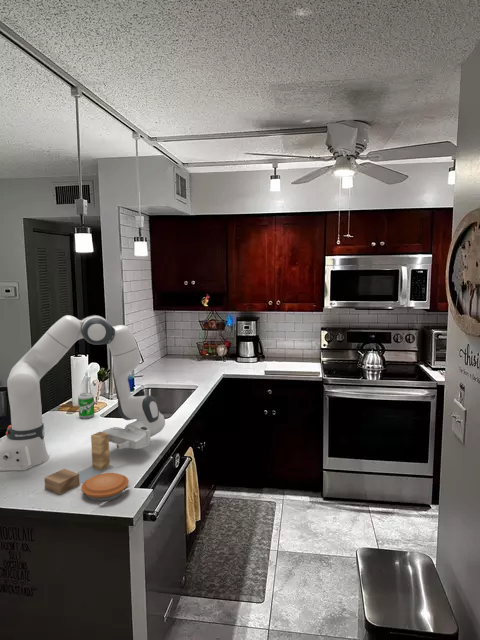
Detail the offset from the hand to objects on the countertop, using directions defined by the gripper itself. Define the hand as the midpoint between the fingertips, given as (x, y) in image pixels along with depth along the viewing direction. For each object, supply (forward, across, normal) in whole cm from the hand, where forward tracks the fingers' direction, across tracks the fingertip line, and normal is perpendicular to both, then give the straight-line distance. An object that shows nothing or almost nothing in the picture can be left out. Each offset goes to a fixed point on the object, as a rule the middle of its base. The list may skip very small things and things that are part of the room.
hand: (109, 444), depth 174 cm
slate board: (+14, 0, +8) cm, 16 cm away
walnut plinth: (+22, 0, +8) cm, 23 cm away
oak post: (+4, 0, +7) cm, 9 cm away
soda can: (-33, -52, +8) cm, 62 cm away
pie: (+17, +16, +9) cm, 24 cm away
